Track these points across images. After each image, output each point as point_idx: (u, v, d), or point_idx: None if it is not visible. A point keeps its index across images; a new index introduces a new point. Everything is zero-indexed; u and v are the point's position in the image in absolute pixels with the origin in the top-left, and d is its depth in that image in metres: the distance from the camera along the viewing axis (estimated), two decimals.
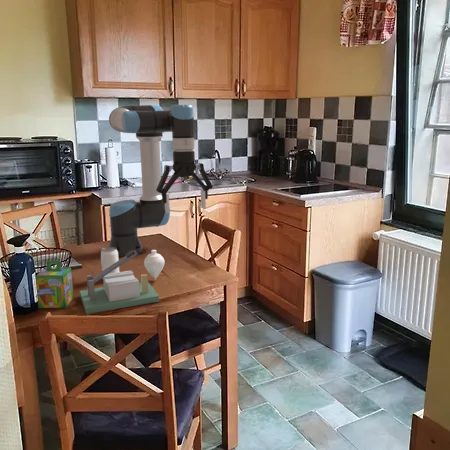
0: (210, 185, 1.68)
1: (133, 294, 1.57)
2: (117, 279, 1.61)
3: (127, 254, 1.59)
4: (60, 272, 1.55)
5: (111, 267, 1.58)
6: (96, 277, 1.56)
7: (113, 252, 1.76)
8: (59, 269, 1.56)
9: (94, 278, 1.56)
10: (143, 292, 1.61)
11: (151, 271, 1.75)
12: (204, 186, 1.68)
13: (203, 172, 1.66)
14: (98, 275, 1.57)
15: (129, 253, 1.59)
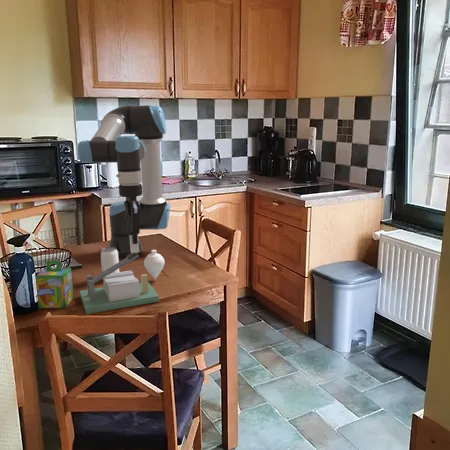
0: (131, 231, 1.55)
1: (133, 294, 1.57)
2: (117, 279, 1.61)
3: (128, 256, 1.60)
4: (60, 272, 1.55)
5: (112, 268, 1.58)
6: (96, 277, 1.56)
7: (113, 252, 1.76)
8: (59, 269, 1.56)
9: (94, 278, 1.56)
10: (143, 292, 1.61)
11: (151, 271, 1.75)
12: (130, 229, 1.56)
13: (131, 215, 1.52)
14: (98, 275, 1.57)
15: (130, 255, 1.60)
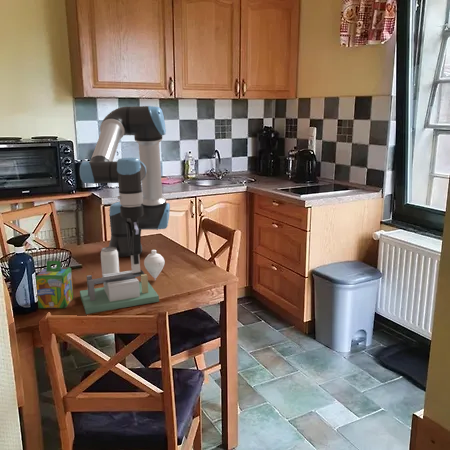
0: (133, 251, 1.56)
1: (133, 294, 1.57)
2: None
3: None
4: (60, 272, 1.55)
5: (115, 277, 1.59)
6: (98, 280, 1.57)
7: (113, 252, 1.76)
8: (59, 269, 1.56)
9: (95, 280, 1.57)
10: (143, 292, 1.61)
11: (151, 271, 1.75)
12: (131, 250, 1.58)
13: (132, 236, 1.54)
14: (100, 279, 1.58)
15: None
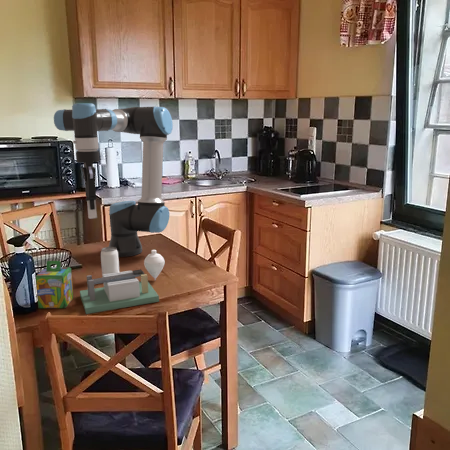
0: (88, 196, 1.59)
1: (133, 294, 1.57)
2: None
3: (135, 271, 1.62)
4: (60, 272, 1.55)
5: (115, 277, 1.59)
6: (98, 280, 1.57)
7: (113, 252, 1.76)
8: (59, 269, 1.56)
9: (95, 280, 1.57)
10: (143, 292, 1.61)
11: (151, 271, 1.75)
12: (87, 195, 1.61)
13: (87, 181, 1.57)
14: (100, 279, 1.58)
15: (137, 271, 1.62)
